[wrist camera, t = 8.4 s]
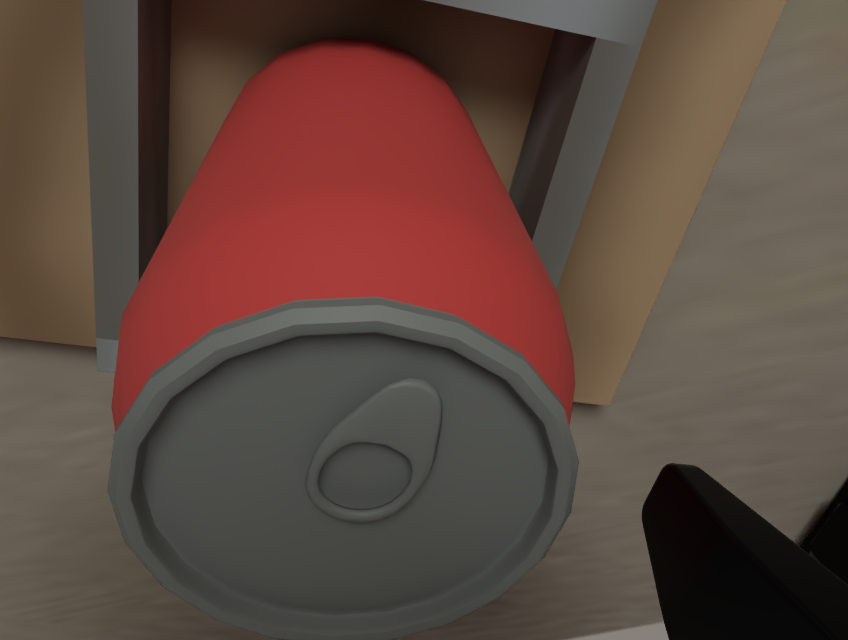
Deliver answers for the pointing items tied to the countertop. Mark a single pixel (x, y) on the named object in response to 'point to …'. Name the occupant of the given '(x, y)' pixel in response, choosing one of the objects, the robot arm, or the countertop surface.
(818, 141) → the countertop surface
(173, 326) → the beer can
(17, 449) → the countertop surface
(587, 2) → the can holder
